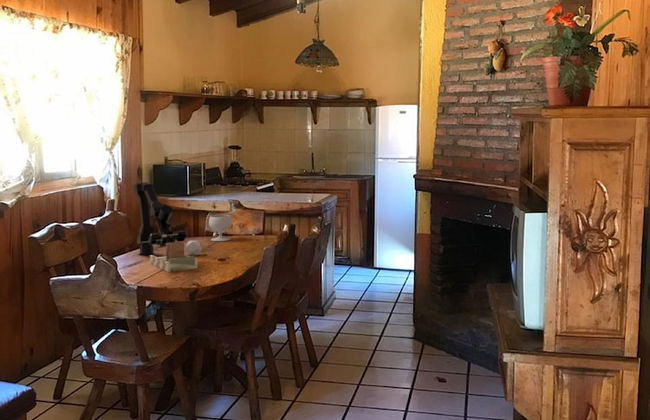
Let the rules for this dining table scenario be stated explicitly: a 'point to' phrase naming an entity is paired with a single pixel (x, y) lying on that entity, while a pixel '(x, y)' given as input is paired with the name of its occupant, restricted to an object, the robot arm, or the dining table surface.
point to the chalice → (220, 225)
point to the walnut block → (174, 250)
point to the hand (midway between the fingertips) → (172, 250)
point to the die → (193, 248)
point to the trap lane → (174, 263)
